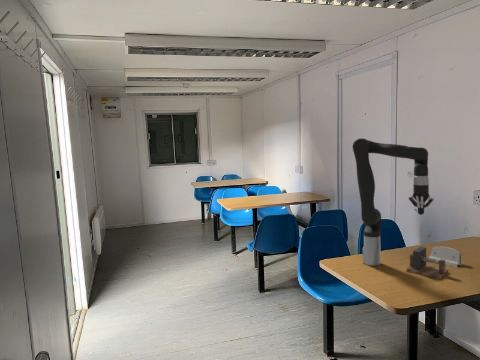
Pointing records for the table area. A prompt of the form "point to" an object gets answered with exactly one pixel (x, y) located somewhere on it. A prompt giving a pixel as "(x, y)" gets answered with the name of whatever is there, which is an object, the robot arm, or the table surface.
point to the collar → (419, 258)
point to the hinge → (446, 255)
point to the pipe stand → (429, 268)
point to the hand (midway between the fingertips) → (421, 214)
